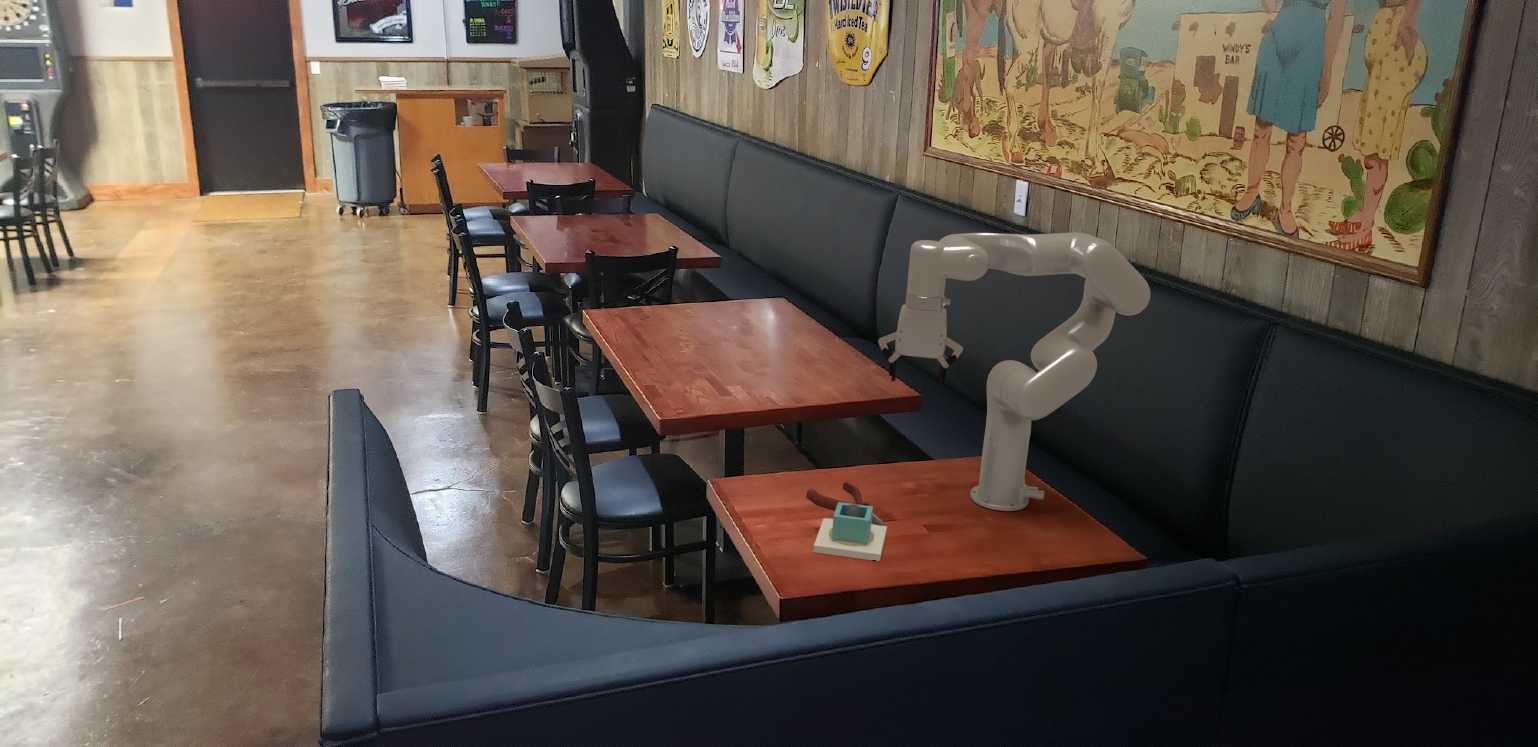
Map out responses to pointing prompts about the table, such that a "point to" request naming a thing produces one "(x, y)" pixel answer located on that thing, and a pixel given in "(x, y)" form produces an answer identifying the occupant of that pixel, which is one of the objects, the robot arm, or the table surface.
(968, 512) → the table surface
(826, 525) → the post stand
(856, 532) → the collar
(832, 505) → the pliers
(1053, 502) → the table surface
